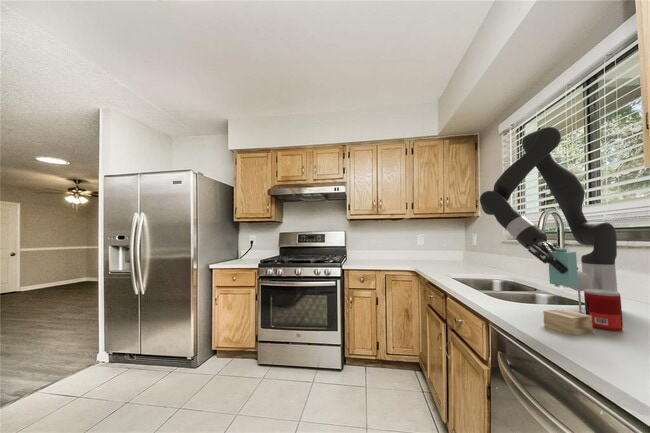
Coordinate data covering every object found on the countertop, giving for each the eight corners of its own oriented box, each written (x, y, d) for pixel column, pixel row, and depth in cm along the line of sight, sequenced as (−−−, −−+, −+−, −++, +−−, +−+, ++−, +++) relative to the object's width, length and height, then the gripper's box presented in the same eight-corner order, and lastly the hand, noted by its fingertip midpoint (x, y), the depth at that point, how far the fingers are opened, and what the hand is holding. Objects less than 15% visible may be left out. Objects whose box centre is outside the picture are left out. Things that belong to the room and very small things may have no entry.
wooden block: (563, 324, 87) (561, 308, 87) (593, 333, 79) (591, 315, 80) (544, 326, 85) (543, 310, 85) (573, 336, 77) (572, 318, 78)
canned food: (631, 332, 79) (627, 294, 80) (598, 330, 81) (596, 293, 81) (609, 323, 87) (606, 289, 87) (580, 322, 88) (577, 288, 89)
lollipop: (575, 309, 103) (572, 269, 104) (599, 314, 97) (595, 271, 98) (563, 310, 101) (560, 270, 102) (586, 316, 94) (583, 273, 95)
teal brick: (558, 282, 87) (556, 248, 87) (578, 284, 82) (575, 248, 83) (549, 283, 85) (547, 248, 85) (569, 286, 80) (566, 249, 81)
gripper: (520, 224, 88) (568, 264, 77) (545, 224, 94) (593, 262, 83) (504, 240, 93) (547, 280, 81) (529, 239, 99) (573, 277, 87)
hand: (570, 271), depth 82 cm, fingers closed on teal brick, 5 cm apart
